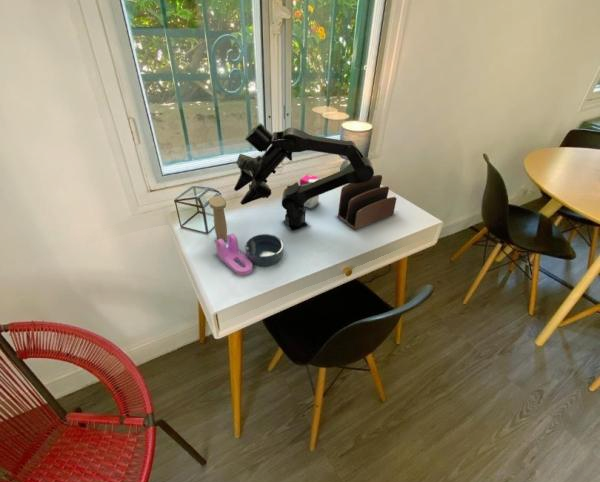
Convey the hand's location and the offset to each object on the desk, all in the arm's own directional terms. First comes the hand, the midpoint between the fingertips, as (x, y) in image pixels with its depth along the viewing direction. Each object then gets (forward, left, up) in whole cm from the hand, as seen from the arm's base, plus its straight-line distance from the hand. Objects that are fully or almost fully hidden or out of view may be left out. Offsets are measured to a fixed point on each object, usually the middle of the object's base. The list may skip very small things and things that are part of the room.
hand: (238, 196), depth 108 cm
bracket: (+8, +15, -14) cm, 22 cm away
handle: (+8, +2, -14) cm, 16 cm away
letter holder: (-44, +16, -14) cm, 49 cm away
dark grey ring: (-1, +16, -13) cm, 21 cm away
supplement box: (-30, -2, -14) cm, 33 cm away
